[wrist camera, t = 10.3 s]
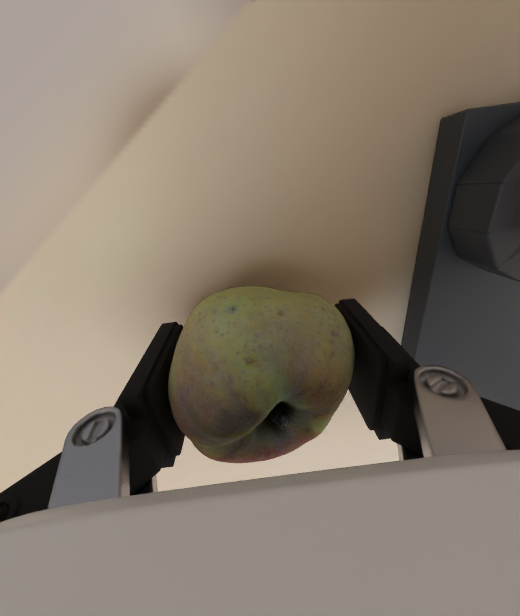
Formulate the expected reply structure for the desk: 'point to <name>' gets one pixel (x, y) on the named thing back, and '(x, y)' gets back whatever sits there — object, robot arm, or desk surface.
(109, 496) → the robot arm
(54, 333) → the desk surface
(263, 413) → the apple
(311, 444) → the desk surface
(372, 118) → the desk surface
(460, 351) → the scale
